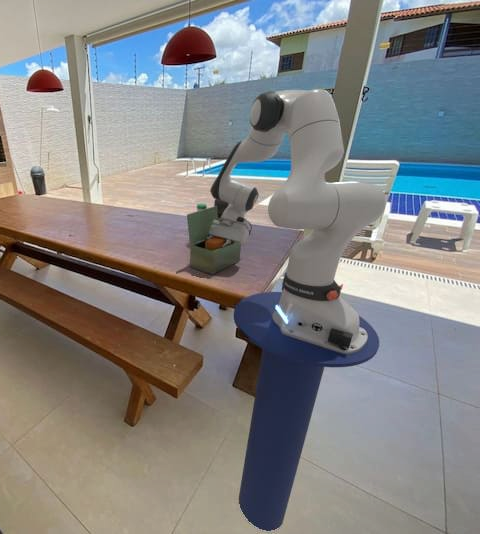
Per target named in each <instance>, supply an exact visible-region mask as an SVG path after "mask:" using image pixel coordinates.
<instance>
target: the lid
mask: <svg viewBox="0 0 480 534" xmlns="http://www.w3.org/2000/svg"><path fill="white" fill-rule="evenodd" d="M216 218H218V212H217V206H214V205H213V206H211V207H207V208H206V209H204V210H201V211H197V210H196V211H194V212H190V213H188V214H186V221H187V229H188V239H189V245H193V244H195V243H196V242H199V241H201V240H204V239H206V238H209V235H208V232H209V229H210V227H211V226H212V224H213V220H216Z"/></svg>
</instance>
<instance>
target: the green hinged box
mask: <svg viewBox="0 0 480 534" xmlns="http://www.w3.org/2000/svg"><path fill="white" fill-rule="evenodd" d="M207 240H209V238H208V239H206V240H203V241H201V242H198V243H193V244H190V248H189V249H190V252H189V267H190V268H192V269H195V270H199V271H200V272H204V273H207V274H209V275H215V274H217V273H219V272H220V271H221V272H222V270H225V269H227V268H228V267H231V266H233V265H235V264H236V263H238V262H240V261H241V251H242V250H241V249H242V245H239V244H235V243H231V244H229V245H227V246H224V247H222V248H220V249H217V250H215V251H212V250H208V249H205V241H207Z"/></svg>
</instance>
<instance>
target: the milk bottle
mask: <svg viewBox="0 0 480 534" xmlns="http://www.w3.org/2000/svg"><path fill="white" fill-rule="evenodd" d="M207 208H208V205H207V204H206V203H198V204H197V205H196V212H197V211H201V210H204V209H207ZM206 239H208V238H206ZM206 239H204V240H206ZM201 241H203V240H201ZM201 241H199V242H201ZM196 243H198V242H196Z"/></svg>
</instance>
